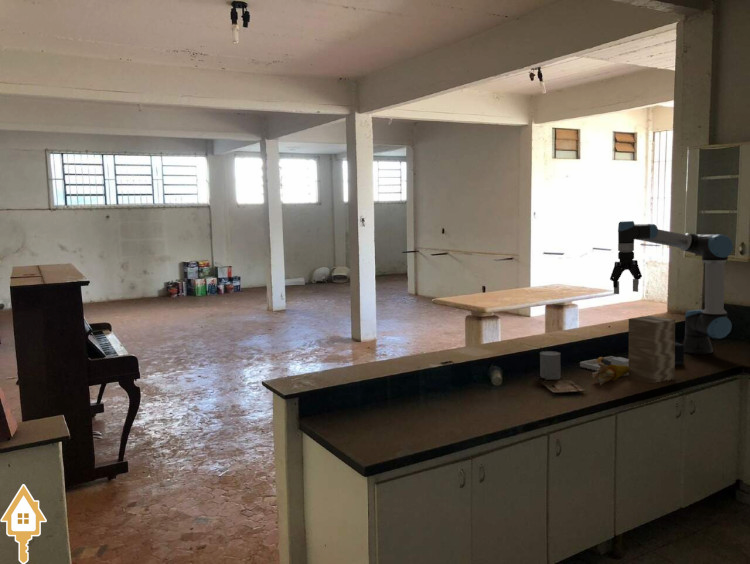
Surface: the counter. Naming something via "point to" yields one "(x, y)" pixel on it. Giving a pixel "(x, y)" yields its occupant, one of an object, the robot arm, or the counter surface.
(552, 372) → the grey cylinder
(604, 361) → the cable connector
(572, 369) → the counter surface
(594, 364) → the tray
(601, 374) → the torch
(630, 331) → the stand
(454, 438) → the counter surface
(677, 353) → the small box
